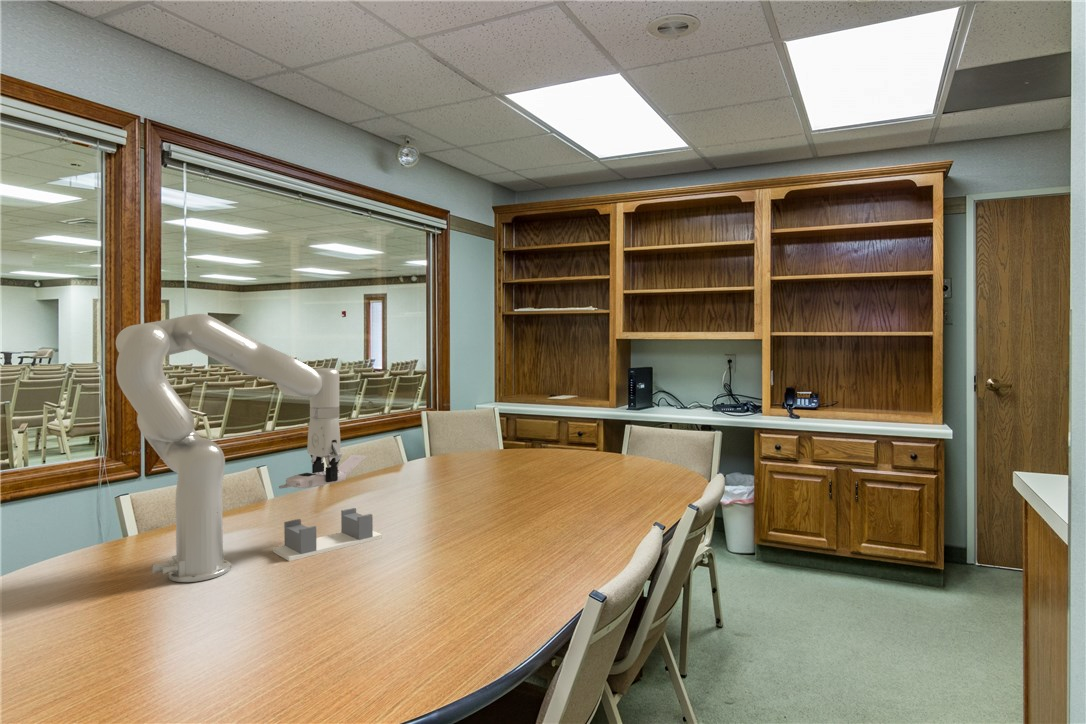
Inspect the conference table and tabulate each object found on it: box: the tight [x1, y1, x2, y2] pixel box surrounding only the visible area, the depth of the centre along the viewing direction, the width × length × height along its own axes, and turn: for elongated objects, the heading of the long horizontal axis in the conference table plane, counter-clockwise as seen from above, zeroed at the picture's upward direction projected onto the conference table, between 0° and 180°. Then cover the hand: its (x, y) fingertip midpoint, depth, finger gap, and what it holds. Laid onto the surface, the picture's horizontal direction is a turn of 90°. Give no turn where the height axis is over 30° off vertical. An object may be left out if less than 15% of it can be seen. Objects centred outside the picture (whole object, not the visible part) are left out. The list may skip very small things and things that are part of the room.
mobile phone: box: [278, 454, 368, 489], centre depth 164 cm, size 6×6×25 cm
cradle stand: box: [272, 507, 383, 562], centre depth 163 cm, size 26×10×7 cm, turn 136°
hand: (324, 479), depth 164 cm, fingers closed on mobile phone, 6 cm apart
